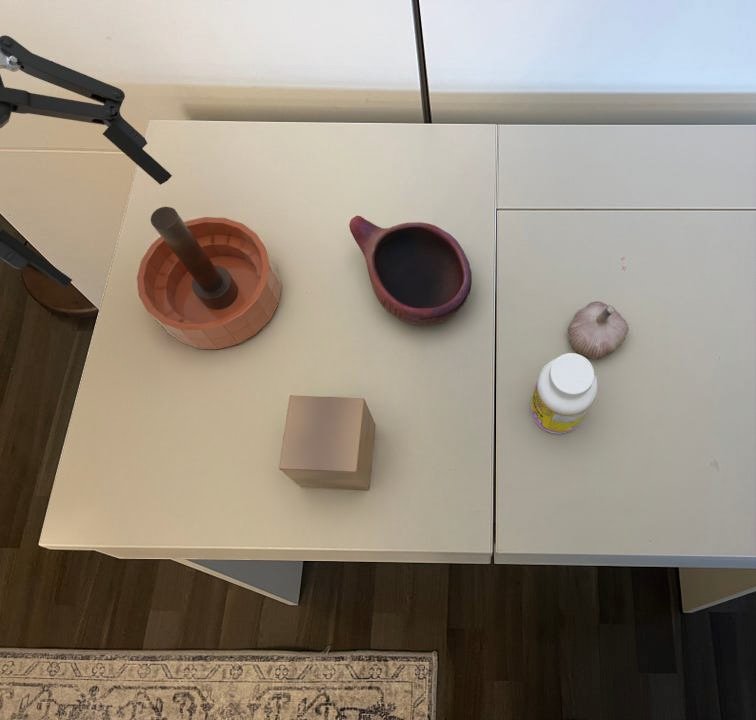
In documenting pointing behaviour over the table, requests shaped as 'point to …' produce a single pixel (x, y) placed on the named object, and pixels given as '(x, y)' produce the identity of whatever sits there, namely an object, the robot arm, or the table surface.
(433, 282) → the bowl
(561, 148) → the table surface
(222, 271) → the cylinder
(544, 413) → the supplement bottle
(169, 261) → the mixing bowl
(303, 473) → the cube
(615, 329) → the garlic bulb
